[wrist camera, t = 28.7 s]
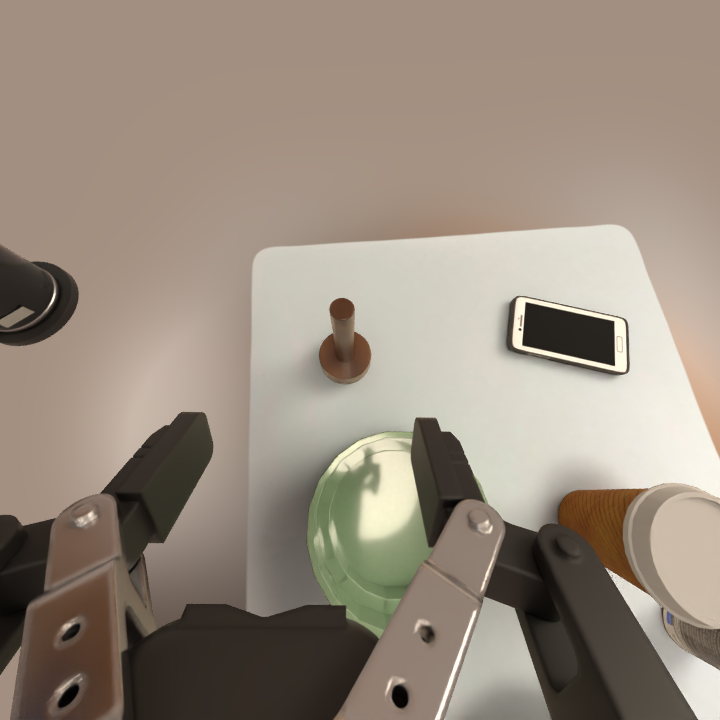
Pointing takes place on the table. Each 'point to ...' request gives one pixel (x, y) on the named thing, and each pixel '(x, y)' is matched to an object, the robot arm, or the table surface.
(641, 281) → the table surface
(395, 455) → the mixing bowl
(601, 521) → the disposable coffee cup
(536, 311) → the cell phone
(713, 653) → the pill bottle
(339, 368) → the wooden rod on disc
